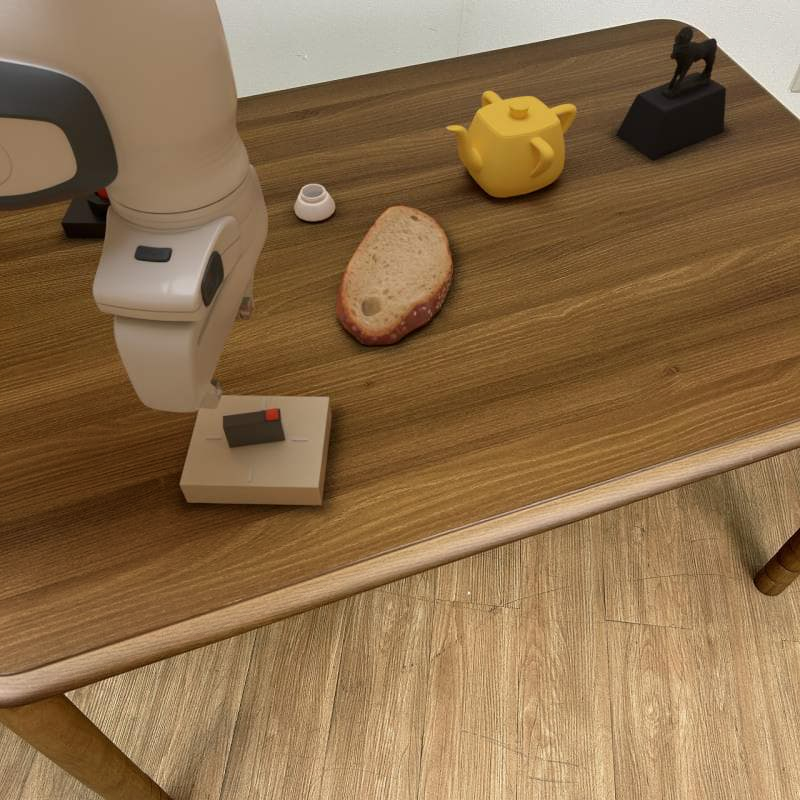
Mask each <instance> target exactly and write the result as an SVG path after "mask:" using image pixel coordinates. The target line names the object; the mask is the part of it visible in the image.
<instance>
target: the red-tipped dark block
mask: <svg viewBox="0 0 800 800" xmlns="http://www.w3.org/2000/svg"><path fill="white" fill-rule="evenodd" d="M223 430H224V433H225V436H226V439H227V442H228V445H229V448H234V447H241V446H248V445H256V444H263V443H270V442H278V441H285V428H284V423H283V419H282V415H281V410H280V409H278V408H274V409H266V410H264V411H257V412H249V413H242V414H234V415H227V416H223Z"/></svg>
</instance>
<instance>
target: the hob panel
mask: <svg viewBox="0 0 800 800" xmlns="http://www.w3.org/2000/svg"><path fill="white" fill-rule="evenodd" d="M274 408H278V409H280V410H281V415H282V419H283V423H284V428H285V441H278V442H270V443H263V444H256V445H248V446H241V447H234V448H229V445H228V442H227V439H226V436H225V433H224V430H223V416H227V415H234V414H242V413H249V412H257V411H264V410H266V409H274ZM332 418H333V415H332V408H331V400H330V397H329V396H300V395H299V396H298V395H295V396H293V395H284V396H283V395H236V394H235V395H234V394H222V395H221V398H220V401H219V404H218V407H217V408H216V409H208V408H200V409H199V410H198V411H197V415H196V419H195V423H194V427H193V430H192V434H191V439H190V442H189V446H188V450H187V453H186V457H185V462H184V466H183V469H182V473H181V477H180V481H179V487H180V489H181V491H182V494H183V496H184V498H185V500H186V502H187V503H188V504H189V503H190V504H191V503H192V504H193V503H194V504H231V505H232V504H233V505H235V504H237V505H238V504H240V505H278V506H279V505H284V506H285V505H286V506H293V505H294V506H322V505H323V498H324V488H325V480H326V471H327V461H328V453H329V445H330V438H331V436H330V435H331V427H332Z"/></svg>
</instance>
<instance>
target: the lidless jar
mask: <svg viewBox="0 0 800 800" xmlns="http://www.w3.org/2000/svg"><path fill="white" fill-rule="evenodd" d="M293 210H294V214H295V215H296V216H297V217H298V218H299V219H301V220H303V221H306V222H318V221H319V222H320V221H323V220H326V219H328V218H330V217H331V216H332V214H334V213H335V210H336V203H335V200H334V199H333V197H332V196H331V195H330V194H329V192H328V191H327V190H326V188H325V186H323V185H322V184H319V183H309V184H306V185H304V186H302V187H301V189H300V191H299V193H298V195H297V198H296V200H295V202H294V206H293Z"/></svg>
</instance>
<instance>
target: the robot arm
mask: <svg viewBox="0 0 800 800" xmlns="http://www.w3.org/2000/svg"><path fill="white" fill-rule="evenodd" d="M218 7H219V6H218V4H217V1H216V0H0V212H14V211H23V210H28V209H34V208H39V207H44V206H48V205H53V204H58V203H62V202H67V201H69V200H73V199H74V198H78V197H81V196H85V195H88V194H91V193H94V192H96V191H99V190H101V189H103V188H106V191H107V194H108V197H109V200H110V203H111V205H112V206H109V208H108V211H107V223H106V234H105V238H104V242H103V246H102V251H101V254H100V259H99V262H98V266H97V269H96V273H95V275H94V280H93V284H92V297H93V300H94V302H95V304H96V306H97V308H98V310H99V311H100V312H102V313H105V314H108V315H109V314H110V315H114V317H113V318H114V319H113V335H114V341H115V345H116V349H117V351H118V354H119V357H120V359H121V362H122V364H123V367H124V370H125V372H126V374H127V376H128V379H129V381H130V383H131V386H132V387H133V389H134V392H135V393H136V396H137V397H138V399H139V401H140V402H141V403H142V404H143V406H145V407H147V408H149V409H152V410H156V411H163V412H171V413H196V412H198V411H199V409H200V408H208V409H216V408H217V407H218V404H219V401H220V398H221V395H223V392H224V391H223V389H222V384H221V380H220V379H216V378H213V377H214V374H215V372H216V370H217V367H218V364H219V362H220V359H221V356H222V354H223V351H224V349H225V346H226V344H227V342H228V339H229V336H230V333H231V330H232V328H233V326H234V323H235V320H243V321H249V320H250V319H251V316H252V313H253V311H254V309H255V307H256V306H255V305H256V304H255V300H254V299H255V298H254V294H253V292H254V277H255V269H256V266H257V263H258V261H259V257H260V256H261V254H262V252H263V251H262V250H263V248H264V246H265V242H266V241H267V238H268V232H269V217H268V211H267V206H266V202H265V198H264V193H263V189H262V186H261V182H260V179H259V175H258V173H257V170H256V169H255V166H253V165H252V164H251V162H250V157H249V153H248V150H247V148H246V146H245V144H244V141H243V139H242V138H241V136H240V134H239V131H238V127H237V109H238V92H237V91H238V90H237V85H236V78H235V74H234V69H233V63H232V60H231V55H230V50H229V46H228V43H227V42H228V41H227V37H226V33H225V29H224V26H223V21H222V18H221V13H220V11H219V8H218Z"/></svg>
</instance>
